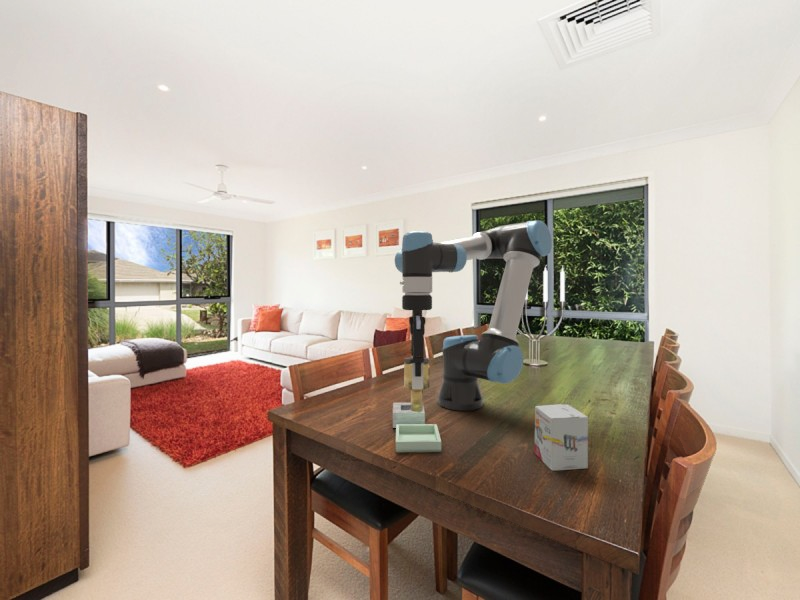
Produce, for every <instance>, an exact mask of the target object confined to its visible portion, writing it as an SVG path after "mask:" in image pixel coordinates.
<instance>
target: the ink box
mask: <svg viewBox="0 0 800 600" xmlns="http://www.w3.org/2000/svg"><path fill="white" fill-rule="evenodd" d="M534 414H535V415H534V454H535V455H536V456H537V457H538V458H539V459H540V461H542V462H543V463H544V464H545V465H546V466H547V468H549V469H550V470H551V471H552V472H553V471H554V472H555V471H565V470H566V471H567V470H568V471H569V470H580V469H581V470H583V469H588V466H589V464H588V462H589V459H588V456H589V455H588V453H589V452H588V450H589V441H588V440H589V416H587V415H586V414H584V413H583V412H581V411H579V410H578V409H576V408H575V407H573V406H571V405H570V404H562V403H558V404H555V403H554V404H545V405H535V406H534Z"/></svg>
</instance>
